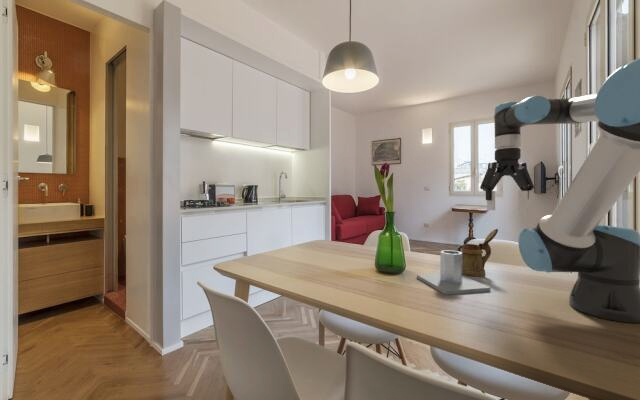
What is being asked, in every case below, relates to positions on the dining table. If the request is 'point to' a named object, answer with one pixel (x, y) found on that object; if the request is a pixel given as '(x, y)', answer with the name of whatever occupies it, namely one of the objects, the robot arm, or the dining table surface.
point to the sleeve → (451, 266)
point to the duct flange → (453, 285)
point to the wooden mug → (476, 256)
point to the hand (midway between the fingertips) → (507, 209)
